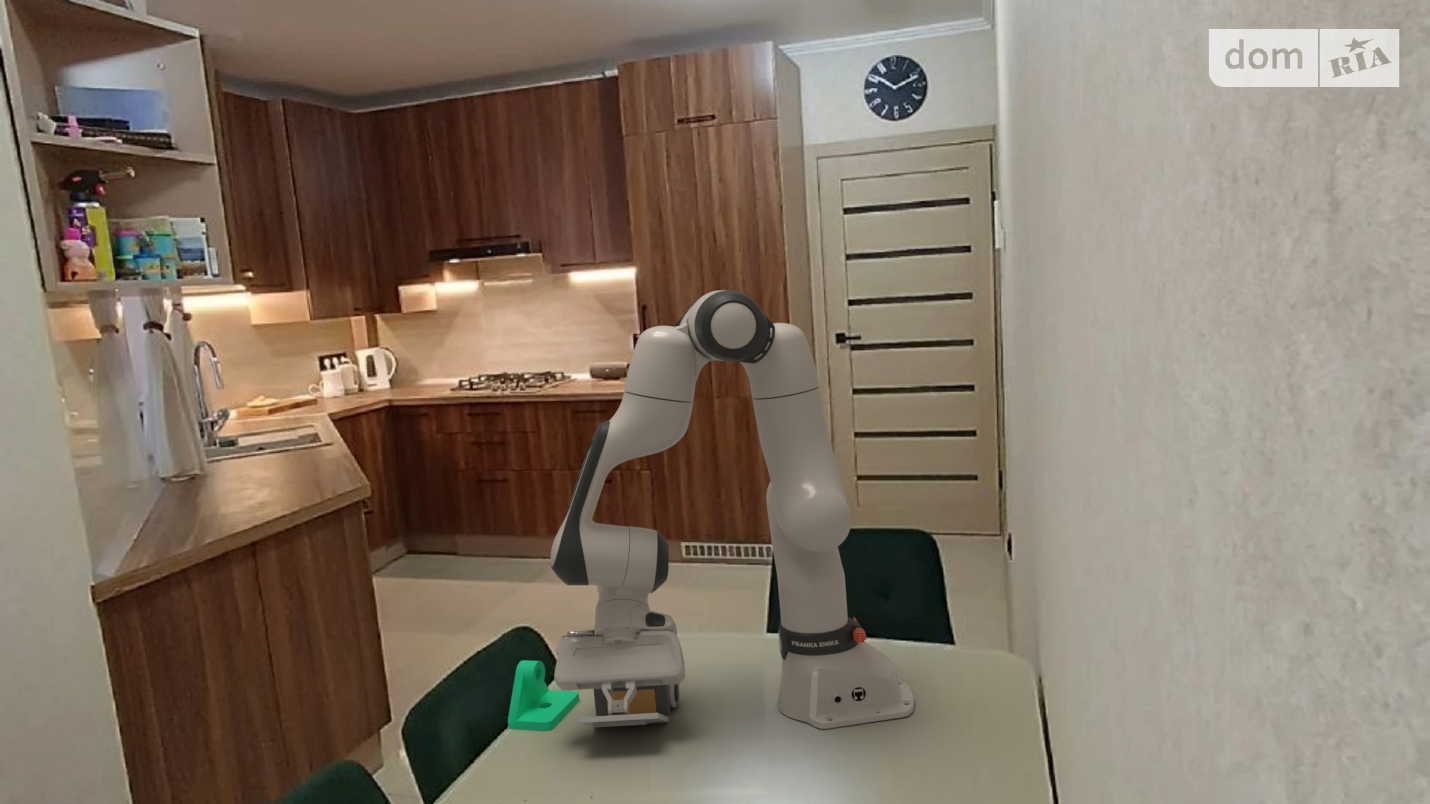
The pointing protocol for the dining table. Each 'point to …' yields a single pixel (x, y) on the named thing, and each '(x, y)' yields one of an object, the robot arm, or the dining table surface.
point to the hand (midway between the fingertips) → (618, 713)
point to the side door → (624, 720)
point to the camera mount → (537, 700)
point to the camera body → (641, 699)
